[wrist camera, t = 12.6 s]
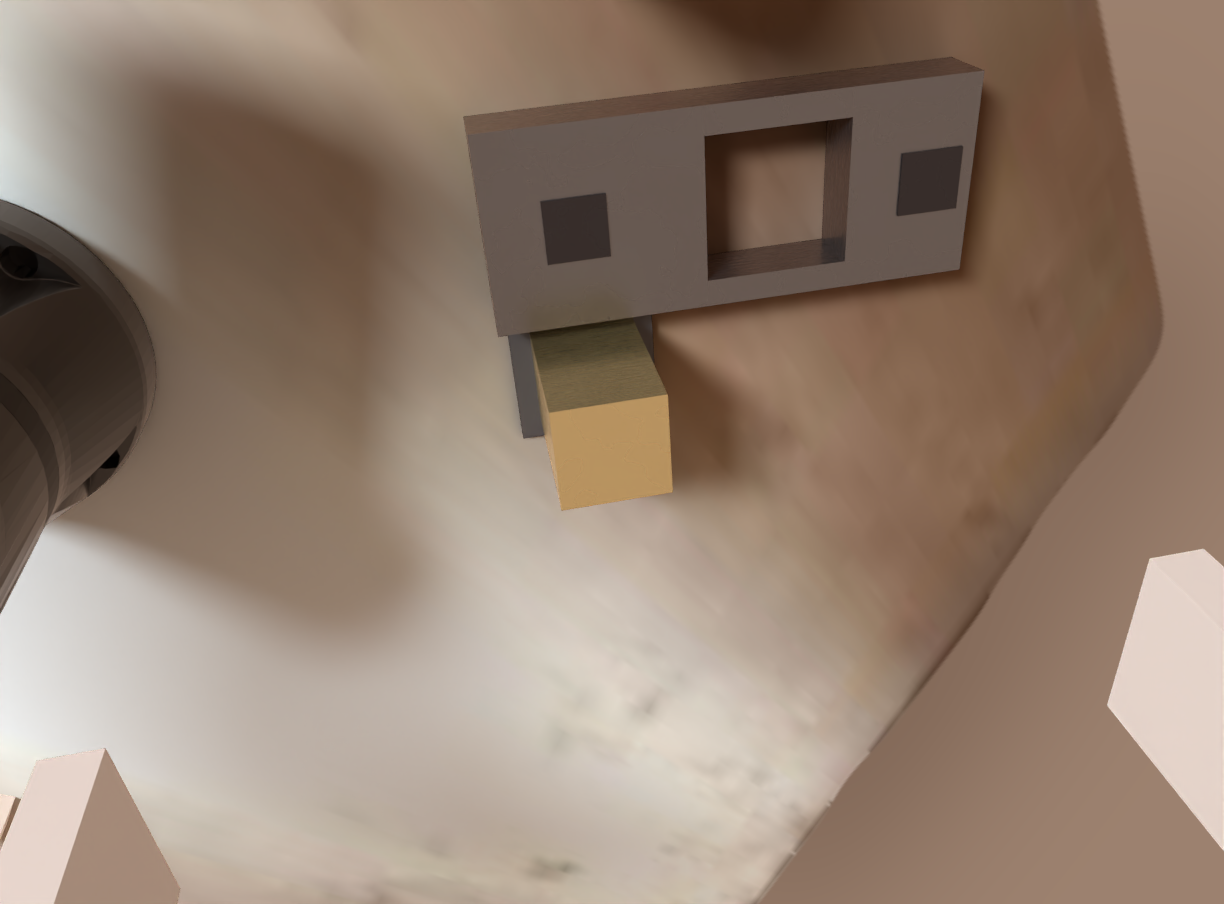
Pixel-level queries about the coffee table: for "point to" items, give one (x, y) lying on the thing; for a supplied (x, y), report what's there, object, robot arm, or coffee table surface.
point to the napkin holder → (5, 810)
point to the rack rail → (676, 193)
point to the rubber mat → (527, 381)
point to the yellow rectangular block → (602, 413)
